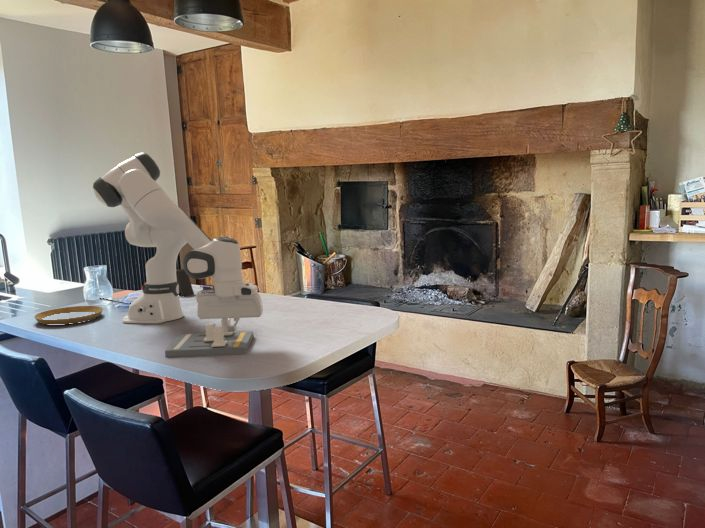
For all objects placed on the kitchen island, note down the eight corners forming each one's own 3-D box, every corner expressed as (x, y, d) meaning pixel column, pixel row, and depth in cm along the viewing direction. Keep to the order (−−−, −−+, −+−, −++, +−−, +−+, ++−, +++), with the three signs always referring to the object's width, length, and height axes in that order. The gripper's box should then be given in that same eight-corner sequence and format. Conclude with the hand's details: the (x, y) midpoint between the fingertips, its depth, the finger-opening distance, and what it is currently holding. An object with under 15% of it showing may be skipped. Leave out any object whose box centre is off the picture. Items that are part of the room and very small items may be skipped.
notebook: (96, 300, 252) (96, 296, 252) (128, 293, 266) (128, 289, 266) (132, 306, 237) (132, 301, 237) (164, 298, 251) (164, 294, 251)
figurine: (204, 292, 257) (234, 292, 255) (196, 300, 249) (227, 300, 247) (202, 280, 255) (232, 280, 252) (194, 287, 247) (225, 287, 244)
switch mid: (203, 341, 171) (202, 326, 170) (206, 337, 175) (205, 322, 174) (216, 340, 171) (215, 325, 170) (218, 337, 175) (217, 322, 174)
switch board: (165, 357, 164) (164, 350, 164) (181, 339, 182) (181, 333, 181) (245, 353, 165) (244, 347, 165) (253, 337, 183) (252, 331, 182)
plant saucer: (82, 310, 231) (81, 302, 230) (116, 316, 218) (115, 308, 217) (22, 323, 211) (21, 315, 210) (56, 331, 198) (55, 322, 197)
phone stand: (194, 294, 257) (192, 269, 255) (183, 296, 252) (181, 271, 250) (181, 292, 262) (179, 268, 260) (171, 294, 257) (169, 269, 255)
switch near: (211, 346, 165) (210, 330, 164) (214, 342, 169) (213, 327, 168) (224, 346, 165) (223, 330, 164) (227, 342, 169) (226, 326, 169)
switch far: (219, 335, 177) (218, 320, 176) (221, 331, 181) (220, 317, 180) (231, 335, 177) (230, 320, 176) (233, 331, 181) (233, 316, 180)
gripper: (193, 291, 167) (196, 335, 169) (259, 289, 168) (261, 332, 170) (198, 287, 173) (201, 329, 175) (262, 285, 174) (264, 327, 176)
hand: (231, 331), depth 172 cm, fingers closed
